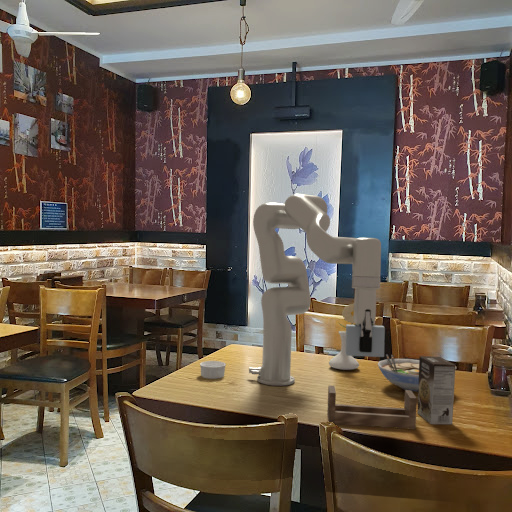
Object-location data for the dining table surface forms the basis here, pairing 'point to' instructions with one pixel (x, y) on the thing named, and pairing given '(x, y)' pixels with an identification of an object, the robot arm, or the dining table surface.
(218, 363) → the ramekin
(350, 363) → the flower in vase
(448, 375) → the coffee box
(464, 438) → the dining table surface
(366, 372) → the dining table surface
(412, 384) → the ramen bowl
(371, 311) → the robot arm
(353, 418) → the frame
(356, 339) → the light grey rectangular block
